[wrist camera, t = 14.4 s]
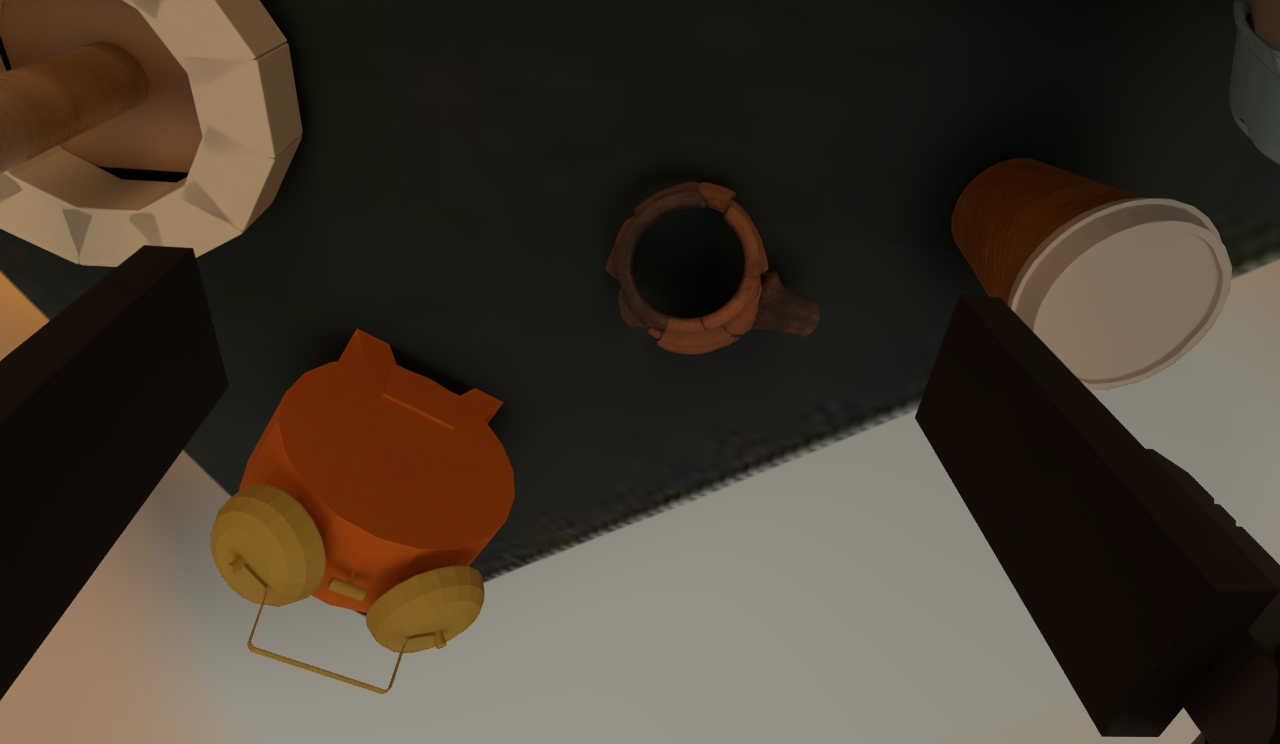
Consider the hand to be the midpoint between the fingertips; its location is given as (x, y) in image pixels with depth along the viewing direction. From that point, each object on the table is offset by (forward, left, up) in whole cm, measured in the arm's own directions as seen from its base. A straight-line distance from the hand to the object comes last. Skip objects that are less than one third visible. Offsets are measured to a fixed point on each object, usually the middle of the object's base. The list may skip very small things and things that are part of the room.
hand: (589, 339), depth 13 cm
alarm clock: (+23, +8, -29) cm, 37 cm away
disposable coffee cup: (-12, +22, -29) cm, 38 cm away
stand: (+18, -14, -28) cm, 36 cm away
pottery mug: (+3, +13, -29) cm, 32 cm away
